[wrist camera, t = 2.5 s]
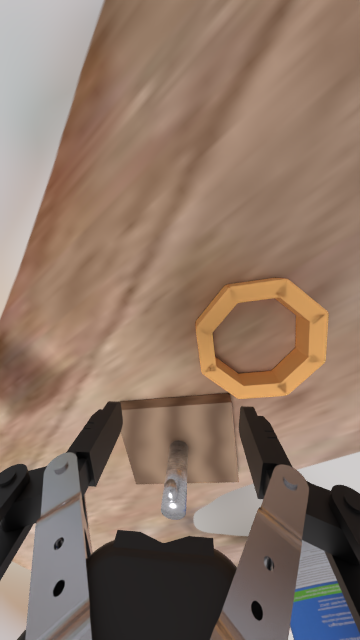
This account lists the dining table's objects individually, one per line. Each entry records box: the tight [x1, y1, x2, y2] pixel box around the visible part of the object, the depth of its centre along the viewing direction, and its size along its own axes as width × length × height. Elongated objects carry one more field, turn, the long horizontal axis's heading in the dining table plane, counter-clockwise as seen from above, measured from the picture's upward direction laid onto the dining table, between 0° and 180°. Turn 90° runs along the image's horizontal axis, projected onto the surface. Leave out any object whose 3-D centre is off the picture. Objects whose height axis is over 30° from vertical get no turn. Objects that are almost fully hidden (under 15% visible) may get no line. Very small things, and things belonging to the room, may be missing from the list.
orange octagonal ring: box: [195, 278, 329, 399], centre depth 24 cm, size 15×15×3 cm
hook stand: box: [120, 393, 239, 520], centre depth 26 cm, size 18×16×10 cm
